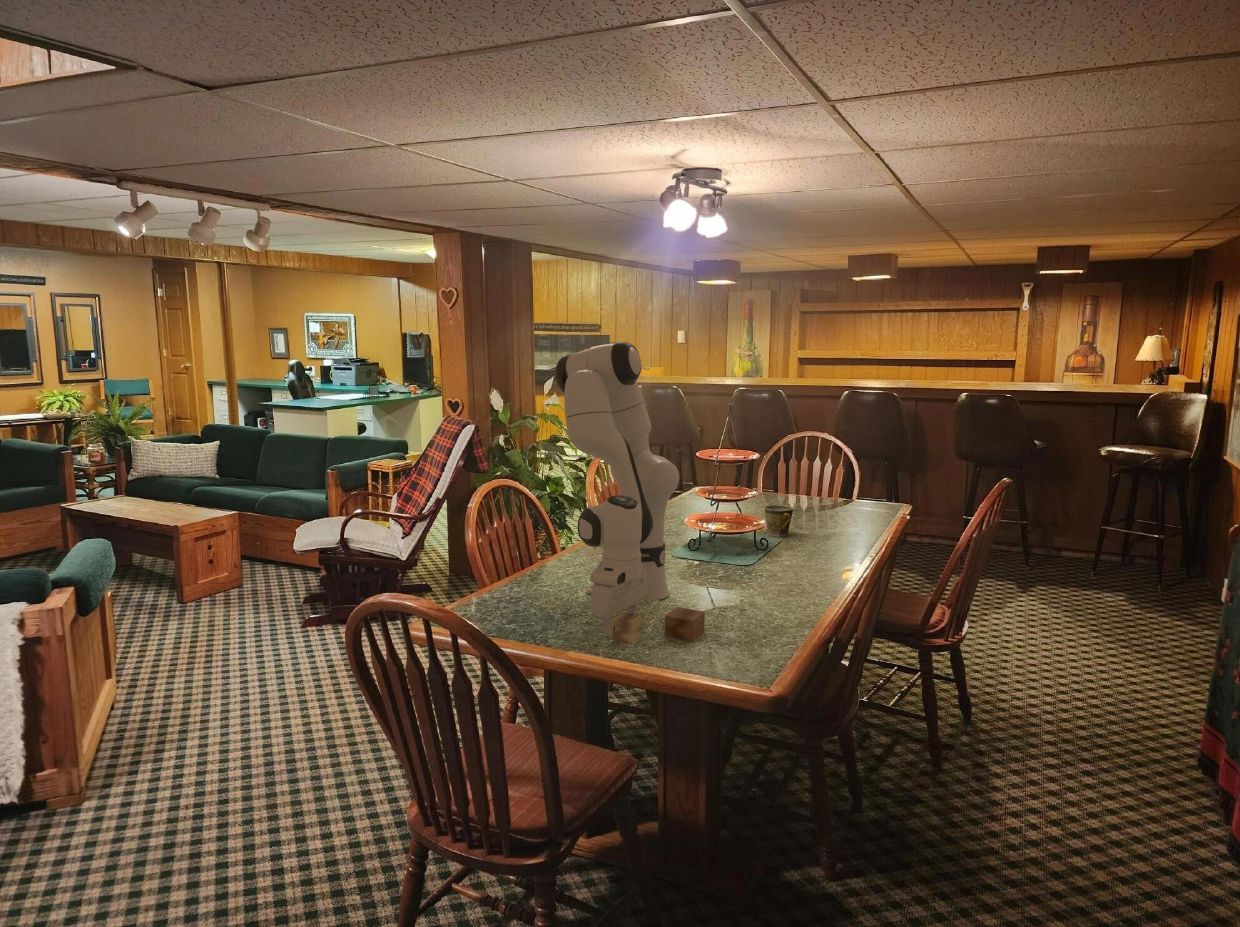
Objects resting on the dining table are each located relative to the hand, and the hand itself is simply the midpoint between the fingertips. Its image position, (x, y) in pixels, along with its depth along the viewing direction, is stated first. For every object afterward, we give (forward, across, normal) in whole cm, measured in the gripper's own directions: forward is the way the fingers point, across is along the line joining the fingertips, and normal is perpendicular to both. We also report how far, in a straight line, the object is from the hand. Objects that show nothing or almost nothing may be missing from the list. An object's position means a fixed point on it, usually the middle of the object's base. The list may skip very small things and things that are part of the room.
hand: (620, 627), depth 183 cm
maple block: (+4, -1, +1) cm, 4 cm away
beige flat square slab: (+4, -9, +12) cm, 16 cm away
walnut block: (+2, -9, +12) cm, 15 cm away
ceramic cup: (+2, -117, 0) cm, 117 cm away
